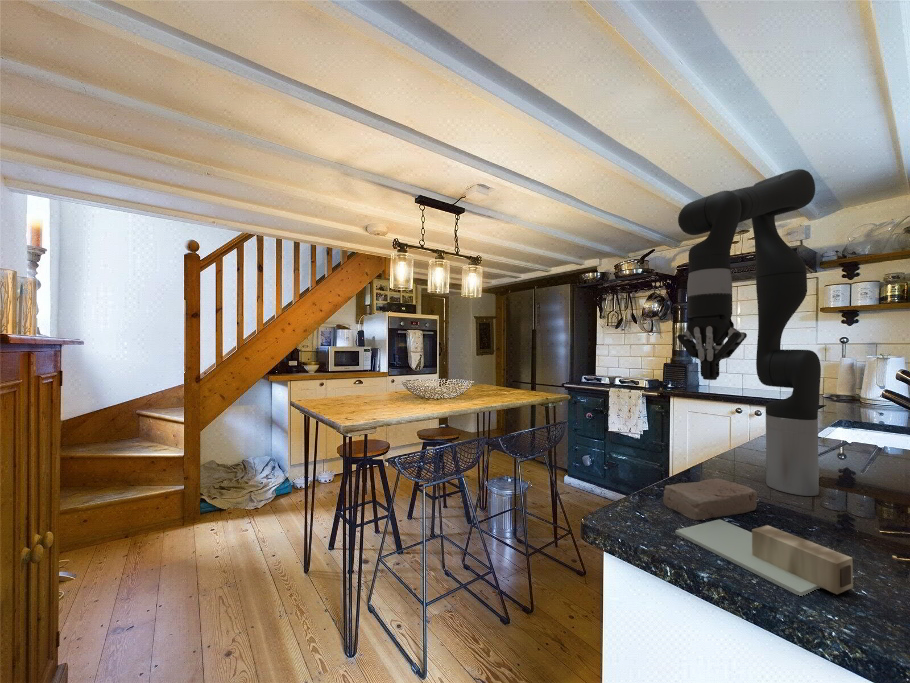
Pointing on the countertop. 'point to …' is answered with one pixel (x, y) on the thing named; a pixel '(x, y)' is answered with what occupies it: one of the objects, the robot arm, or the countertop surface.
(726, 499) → the brick
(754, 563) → the flat grey rectangular slab
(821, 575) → the beech block
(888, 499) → the countertop surface
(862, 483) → the countertop surface
